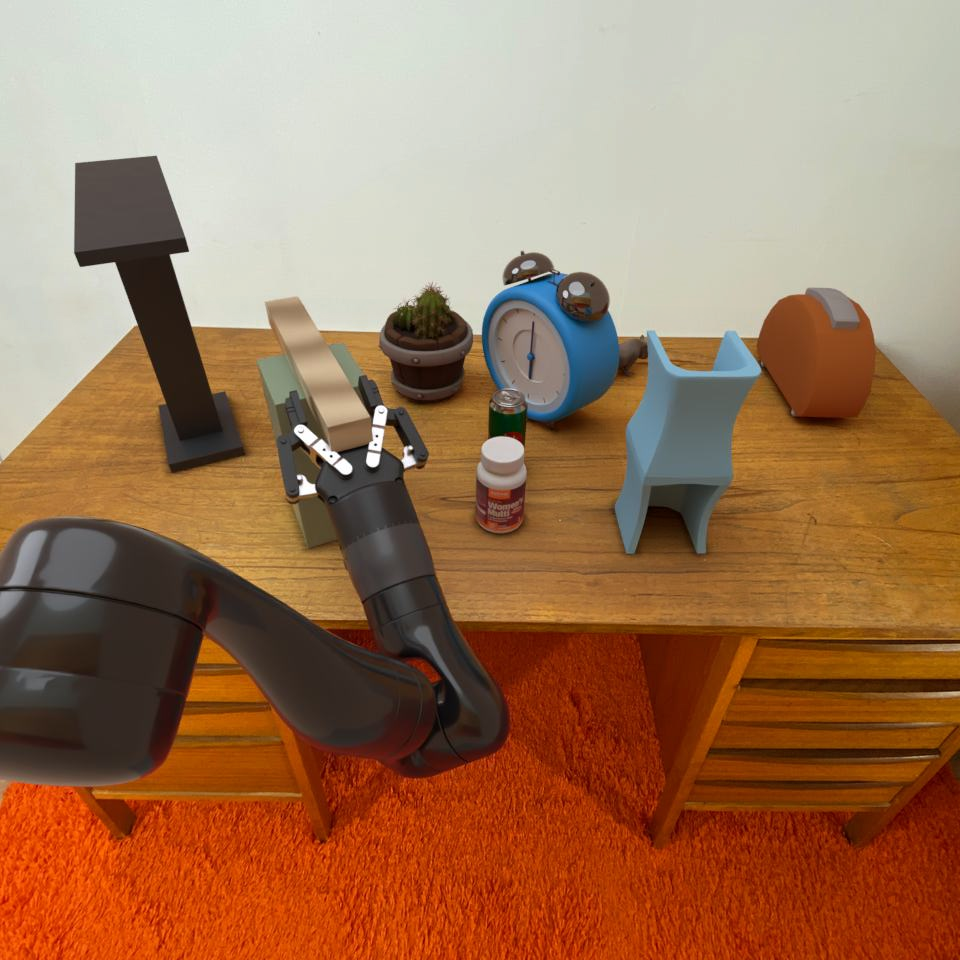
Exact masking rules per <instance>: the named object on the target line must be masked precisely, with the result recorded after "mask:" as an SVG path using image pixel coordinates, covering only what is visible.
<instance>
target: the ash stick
mask: <svg viewBox="0 0 960 960" xmlns="http://www.w3.org/2000/svg"><path fill="white" fill-rule="evenodd" d="M264 306H265V310H266V316H267V320H268V325H269V327H270V328H271V329H270V330H271V331H272V333H273V335H274V337H275V340H276V341H277V343H278V345H279V347H280V349H281V351H282V354H284V356H285V358H286V360H287V362H288V364H289V366H290V368H291V370H292V372H293V374H294V376H295V378H296V380H297V382H298V385H299V387H300V389H301V391H302V393H303V395H304V397H305V399H306V401H307V403H308V405H309V407H310V409H311V411H312V413H313V416H314V418H315V420H316V422H317V424H318V426H319V428H320V430H321V432H322V434H323V436H324V438H325V440H326V442H327V444H328V445H329V446H330V449H331V451H332V452H333V451H335V452H340V451H344V450H348V449H352V448H355V447H359V446H363V445H367V444H369V442H372V441H373V434H372V426H371V417H370V415H369V414H368V412H367V410H366V409H365V407H364V405H363V404H362V402H361V400H360V399H359V397H358V395H357V394H356V392H355V390H354V389H353V387H352V385H351V384H350V382H349V380H348V379H347V377H346V375H345V374H344V372H343V370H342V369H341V367H340V365H339V364H338V362H337V360H336V359H335V357H334V355H333V354H332V352H331V350H330V349H329V347H328V345H329V344H327V342H326V341H325V339H324V337H323V335H322V334H321V332H320V330H319V329H318V327H317V326H316V324H315V322H314V320H313V318H312V317H311V316H310V314H309V312H308V310H307V309H306V306H305V305H304V303H303V302H302V300H301V299H300V297H299V295H296V296H291V297H286V298H285V297H284V298H279V299H278V298H277V299H274V300H273V299H272V300H268V301H264Z"/></svg>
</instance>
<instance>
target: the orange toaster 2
mask: <svg viewBox="0 0 960 960" xmlns="http://www.w3.org/2000/svg"><path fill="white" fill-rule="evenodd" d="M872 327H873V326H872V323H871V319H870V318H869V316H868V315H867V313H866V312H865V310H864V308H862V306H861V304H859V303H858V302H856V301H855V300H853V299H852V298H850V297H849V296H848V295H846V294H845V293H844V292H842V290H839V289H836V288H831V287H807V288H806V290H805V292H804V294H802V293H801V294H799V293H798V294H790V295H787V296H785V297H783V298H780V299H779V300H777V302H776V303H775V304H774V305H773V306H772V307H771V308H770V310H769V312H768V313H767V315H766V317H765V319H764V320H763V323H762V325H761V328H760V331H759V334H758V338H757V343H756V352H757V355H758V357H759V359H760V361H761V362H760V365H761V366H760V367H762V368H766V370H767V372H768V373H769V374H770V376H771V378H772V379H773V381H774V383H775V385H776V386H777V387H778V389H779V391H780V392H781V394H782V395H783V397H784V399H785V400H786V402H787V403H788V405H789V406H790V408H791V411H790V414H791V416H792V417H797V418H798V417H799V418H832V419H833V418H837V419H838V418H840V419H845V418H846V419H849V418H857V417H858V416H859V415H860V413H861V412H862V410H863V408H864V407H865V405H866V403H867V400H868V398H869V396H870V394H871V390H872V386H873V380H874V375H875V370H876V356H877V355H876V354H877V353H876V352H877V351H876V343H875V334H874V331H873V328H872Z"/></svg>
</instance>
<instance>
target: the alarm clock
mask: <svg viewBox="0 0 960 960" xmlns="http://www.w3.org/2000/svg"><path fill="white" fill-rule="evenodd" d="M519 252H520V255H517V256H516V257H513V258H512V259H510V260H509V262H507V264H506V265H505V267H504V268H503V272H502V278H501V279H502V284H503V286H508V285H513V284H515V283H516V284H517V283H519V282H521V283H519V284H517V285H513V286H511V287H508V288H505V289H503V290H502V291H500V292H499V293H498V294H496V295H495V296H494V297H493V298H492V299H491V300H490V302H489V304H488V306H487V308H486V310H485V312H484V315H483V319H482V324H481V325H482V326H481V347H482V353H483V357H484V358H483V359H484V362H485V364H486V368H487V371H488V374H489V375H490V378H491V380H492V383H493V384H494V385H495V387H496V388H497V391H498V390H500V389H515V390H518V391H520V392H522V393H523V394H524V395H525V400H526V401H527V404H528V409H527V419H529V420H532V421H535V422H539V423H547V426H548V427H549V429H550V431H553V430H555V426H554V423H555V422H558V421H560V420H562V419H564V418H567V417H569V416H570V415H572V414H574V413H575V412H578V411H579V410H581V409H583V408H585V407H587V406H589V405H591V404H592V403H594V402H597V401H598V400H600V399H601V398H602V397H603V396H605V394H607V393H608V391H609V390H610V389H611V387H612V386H613V384H614V381H615V379H616V376H617V374H618V370H619V368H618V365H619V344H620V342H619V336H618V332H617V328H616V325H615V322H614V320H613V317H612V315H611V313H610V310H609V309H610V303H611V299H610V298H611V296H610V293H609V289H608V288H607V286H606V284H605V283H604V282H603V281H602V279H600V278H599V277H598V276H596V275H594V274H592V273H590V272H587V271H574V272H570V273H568V274H567V273H561V271H559V270H557V269H555V265H554V263H553V261H552V259H551V258H550V257H549V256H547V255H545V254H544V253H541V252H535V251H532V252H531V251H530V252H526V253H525V251H524V250H521V251H519ZM546 273H547V274H546ZM544 274H545V275H544ZM535 277H536V278H535ZM532 278H533V279H532ZM526 280H527V281H526ZM522 281H525V282H522Z"/></svg>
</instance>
